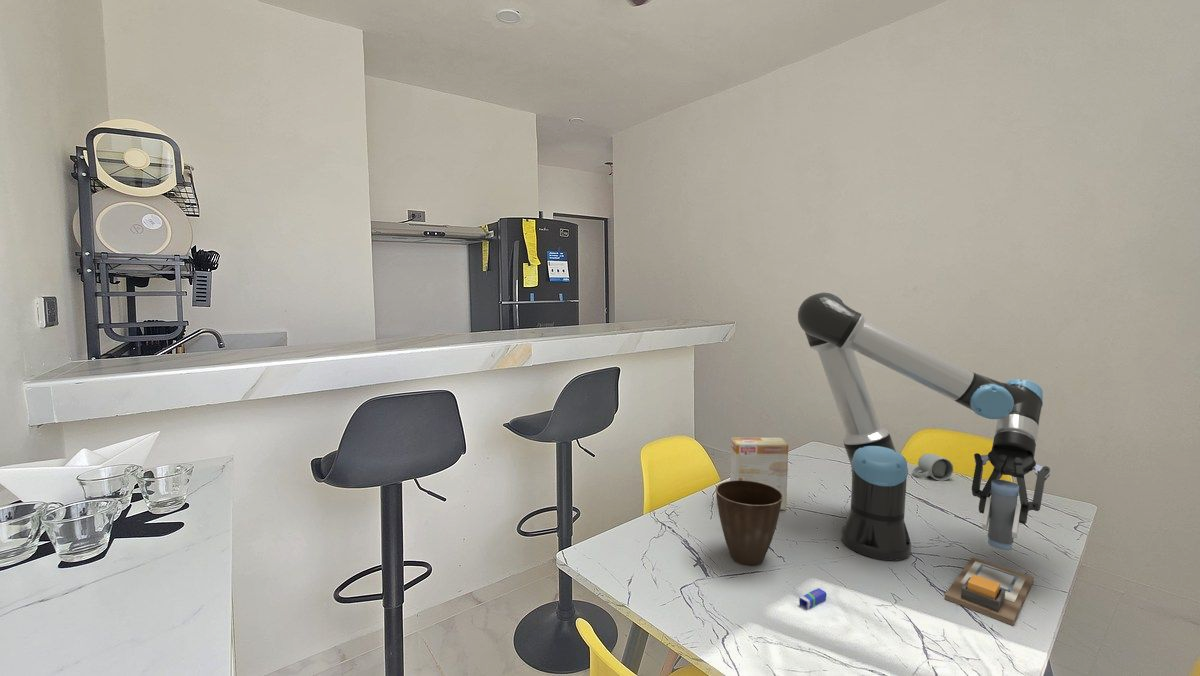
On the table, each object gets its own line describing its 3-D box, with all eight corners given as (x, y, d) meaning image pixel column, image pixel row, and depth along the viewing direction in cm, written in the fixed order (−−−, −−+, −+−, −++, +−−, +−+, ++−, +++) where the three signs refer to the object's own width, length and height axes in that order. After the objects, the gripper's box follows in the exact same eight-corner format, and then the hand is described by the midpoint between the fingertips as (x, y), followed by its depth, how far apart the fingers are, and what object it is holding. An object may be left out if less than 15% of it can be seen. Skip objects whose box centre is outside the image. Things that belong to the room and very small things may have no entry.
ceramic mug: (936, 472, 175) (937, 450, 174) (953, 481, 167) (954, 458, 166) (906, 472, 175) (907, 451, 174) (921, 481, 167) (922, 459, 166)
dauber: (999, 551, 107) (1004, 488, 106) (981, 540, 112) (986, 479, 110) (1019, 550, 107) (1024, 487, 106) (1000, 539, 112) (1005, 479, 111)
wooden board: (1013, 625, 95) (1014, 610, 94) (944, 598, 103) (945, 585, 103) (1033, 581, 109) (1034, 567, 109) (971, 560, 117) (972, 548, 117)
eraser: (798, 605, 101) (799, 596, 101) (818, 596, 104) (818, 587, 104) (807, 611, 99) (807, 601, 99) (826, 601, 102) (826, 592, 102)
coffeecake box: (779, 500, 151) (781, 437, 149) (786, 510, 144) (789, 444, 142) (728, 499, 152) (730, 436, 150) (734, 509, 145) (736, 443, 143)
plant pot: (702, 547, 123) (703, 484, 122) (752, 537, 128) (754, 476, 127) (739, 580, 109) (741, 509, 108) (794, 567, 115) (796, 499, 113)
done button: (994, 601, 98) (995, 591, 98) (967, 591, 101) (967, 582, 101) (999, 592, 101) (1000, 583, 101) (972, 583, 104) (973, 574, 104)
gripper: (1065, 456, 112) (1053, 553, 102) (970, 439, 125) (951, 525, 115) (1066, 438, 108) (1054, 538, 98) (967, 422, 120) (948, 510, 110)
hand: (999, 531), depth 106 cm, fingers closed on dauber, 4 cm apart
